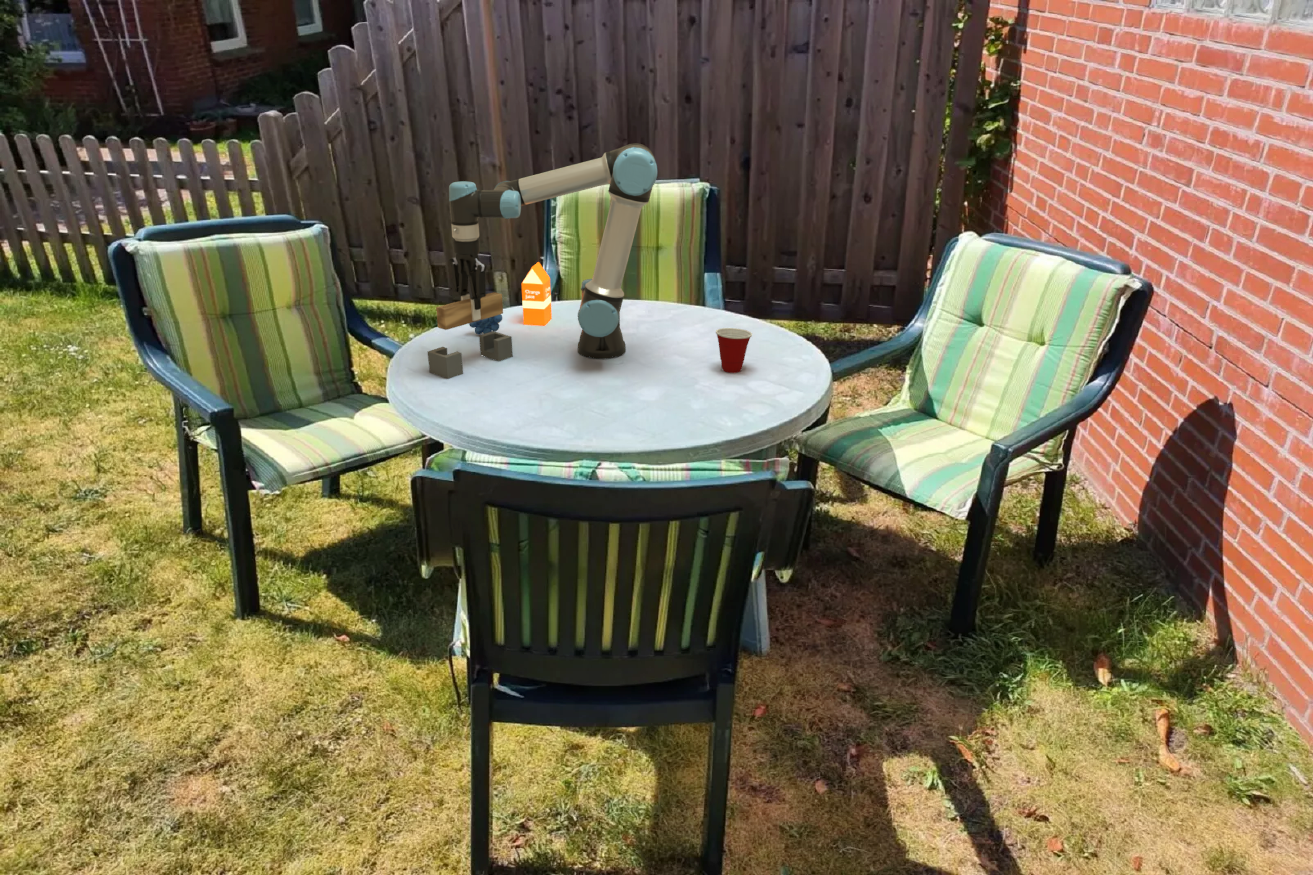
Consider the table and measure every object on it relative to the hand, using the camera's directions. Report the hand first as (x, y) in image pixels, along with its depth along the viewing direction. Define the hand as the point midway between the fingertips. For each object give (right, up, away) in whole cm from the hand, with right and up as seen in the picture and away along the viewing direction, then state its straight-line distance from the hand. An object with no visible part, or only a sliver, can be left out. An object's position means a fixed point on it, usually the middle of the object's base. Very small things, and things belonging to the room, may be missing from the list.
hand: (471, 318), depth 264 cm
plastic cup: (+77, -15, +5) cm, 79 cm away
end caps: (-1, -13, +8) cm, 15 cm away
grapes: (-2, -1, +33) cm, 34 cm away
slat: (0, -1, 0) cm, 1 cm away
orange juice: (+13, +5, +47) cm, 49 cm away
